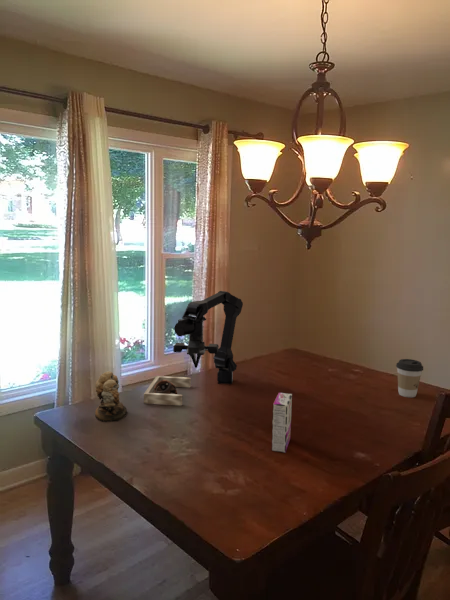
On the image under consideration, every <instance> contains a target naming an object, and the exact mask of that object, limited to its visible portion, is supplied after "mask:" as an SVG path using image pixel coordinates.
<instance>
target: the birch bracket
mask: <svg viewBox="0 0 450 600" xmlns="http://www.w3.org/2000/svg"><path fill="white" fill-rule="evenodd" d="M162 379H163V380H168V381H170V382H171V383H173V384H174V385H175V387H176V388H177V387H178V388H191V385H192V384H191V381H192V380H191V379H192V377H186V376H185V377H183V376H164V375H156V376H155V378H154V379H153V380H152V382H151V383H150V385H149V386H148V387H147V389H146V390H145V391H144V393H143V404H148V405H149V404H150V405H167V406H168V405H170V406H183V394H178V393H177V394H175V393H171V394H162V393H154V392H155V389H154V387H155V385H156V384H157V383H158V382H159V381H160V380H162ZM159 388H160V387H159V386H158V387H157V389H156V390H157V391H158V389H159Z"/></svg>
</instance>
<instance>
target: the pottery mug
mask: <svg viewBox="0 0 450 600" xmlns="http://www.w3.org/2000/svg"><path fill="white" fill-rule="evenodd" d="M158 386H159V387H158ZM157 387H158V388H160V391H159V390H158V388H157ZM176 388H177V387H175V385H174V384H173V383H171V382H170V381H168V380H163V379H162V380H160V381H159V382H158V383H157V384H156V385H155V387H154V389H155V392H154V393H162V394H178V391H177V389H176ZM156 389H157V390H156Z"/></svg>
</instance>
